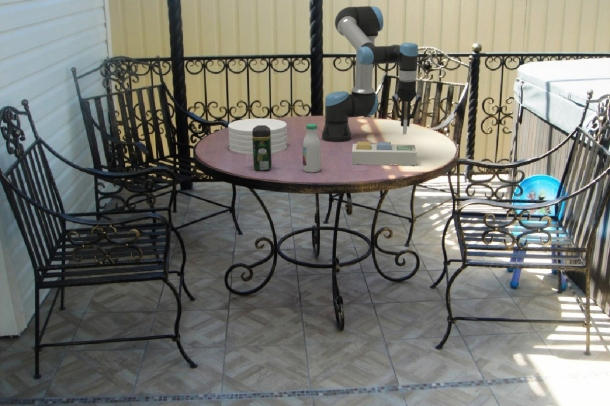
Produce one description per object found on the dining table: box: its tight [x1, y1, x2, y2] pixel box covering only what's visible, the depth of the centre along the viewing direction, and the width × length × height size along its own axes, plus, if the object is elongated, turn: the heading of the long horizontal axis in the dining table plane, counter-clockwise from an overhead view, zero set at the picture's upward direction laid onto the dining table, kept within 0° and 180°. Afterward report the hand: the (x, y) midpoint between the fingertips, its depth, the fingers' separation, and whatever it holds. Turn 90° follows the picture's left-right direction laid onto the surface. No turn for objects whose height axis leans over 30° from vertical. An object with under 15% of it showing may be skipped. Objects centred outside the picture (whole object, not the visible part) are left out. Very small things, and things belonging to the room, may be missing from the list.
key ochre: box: [356, 141, 372, 150], centre depth 296 cm, size 6×6×4 cm
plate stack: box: [227, 117, 288, 156], centre depth 320 cm, size 28×28×12 cm
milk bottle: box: [302, 123, 322, 173], centre depth 281 cm, size 8×8×20 cm
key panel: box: [351, 143, 418, 166], centre depth 296 cm, size 28×14×6 cm, turn 85°
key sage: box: [397, 146, 412, 150], centre depth 295 cm, size 6×6×4 cm
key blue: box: [376, 141, 392, 150], centre depth 295 cm, size 6×6×4 cm
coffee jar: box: [252, 125, 273, 172], centre depth 284 cm, size 10×8×19 cm
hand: (404, 133), depth 293 cm, fingers closed
